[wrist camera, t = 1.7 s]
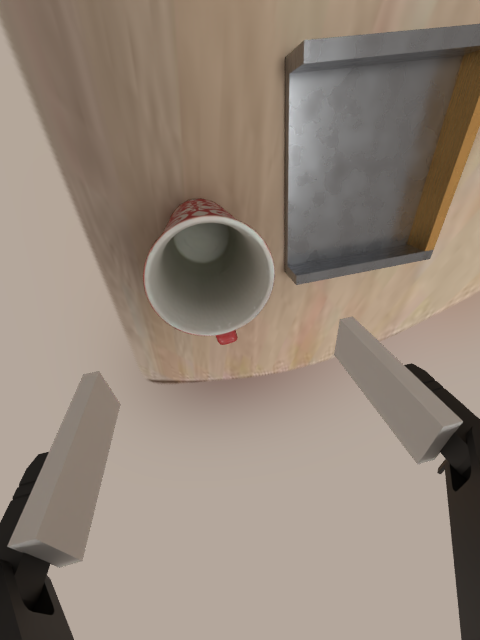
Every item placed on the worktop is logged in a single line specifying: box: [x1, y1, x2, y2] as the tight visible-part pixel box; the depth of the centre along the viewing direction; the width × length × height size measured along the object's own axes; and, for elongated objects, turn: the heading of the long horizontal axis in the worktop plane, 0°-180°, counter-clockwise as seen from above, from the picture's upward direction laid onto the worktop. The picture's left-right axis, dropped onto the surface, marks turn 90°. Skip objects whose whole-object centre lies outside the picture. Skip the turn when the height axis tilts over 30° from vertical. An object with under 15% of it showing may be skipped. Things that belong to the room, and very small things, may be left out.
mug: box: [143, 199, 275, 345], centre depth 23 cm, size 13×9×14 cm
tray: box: [285, 24, 480, 285], centre depth 26 cm, size 20×18×4 cm
